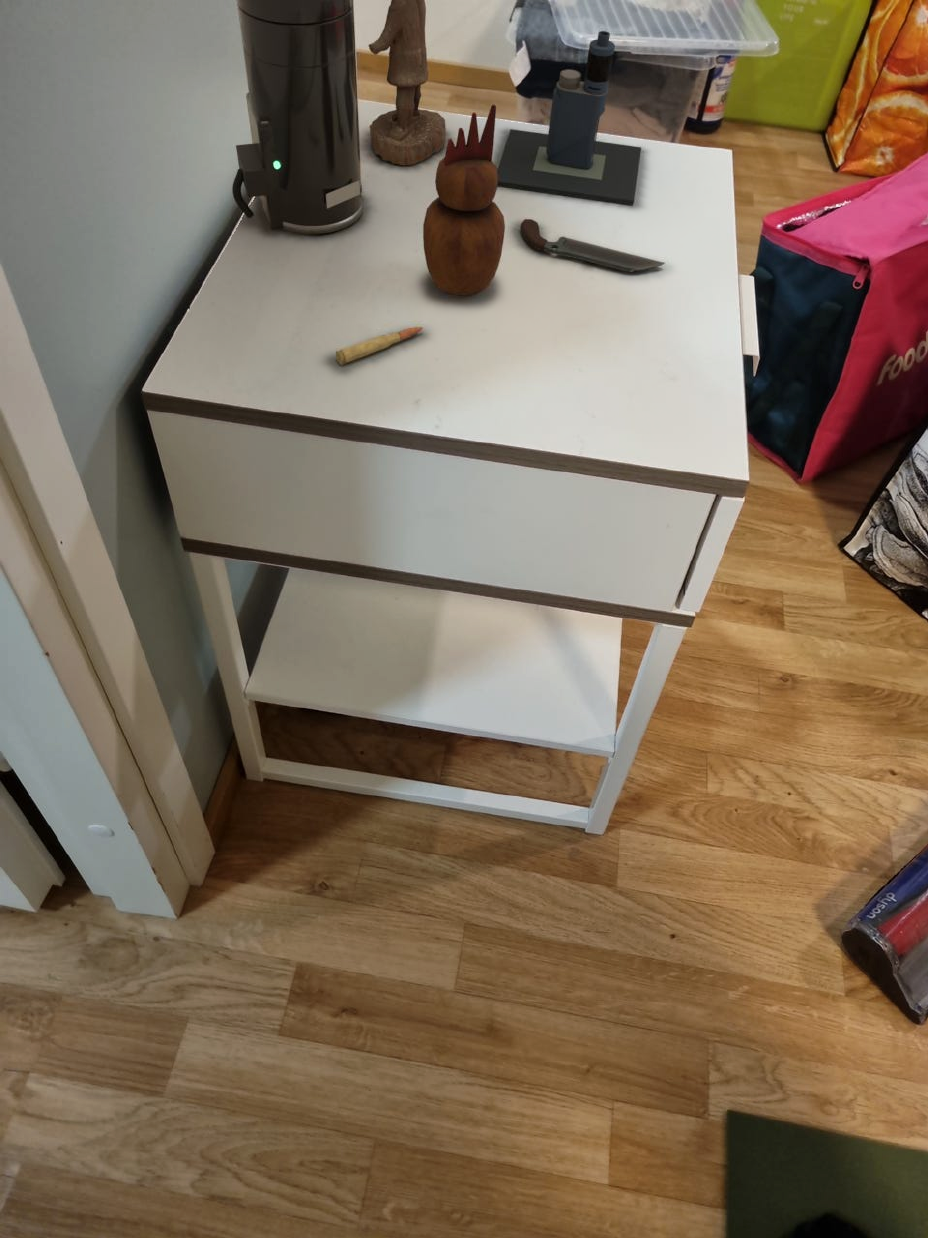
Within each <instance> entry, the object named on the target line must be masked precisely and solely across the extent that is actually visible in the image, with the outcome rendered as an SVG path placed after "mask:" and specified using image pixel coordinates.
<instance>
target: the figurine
mask: <svg viewBox="0 0 928 1238" xmlns="http://www.w3.org/2000/svg"><path fill="white" fill-rule="evenodd" d="M426 17H427V7H426V0H390V5H389V6H388V9H387V13H386V19H385V23H384V27H383V29H382V31H381V33H380V35H379V37H378V38H377V39H376V40H375V41H373V42H371V43H369V44H368V48H369V50H370V52H371V53H372V54H373V55H375V56H377V55H379V53H381V52H386V51H388V50H389V51H388V68H387V74H386V81H387V83H388V84H389V85H390V86H393V87H396V96H395V109H394V110H390V111H387V112H385V113H383V114H380V115H379V116H377V118H376V119H374V120H373V121H372V122H371V124H370V125H369V135H370V145H371V147H372V148H373V149H374V150H373V151H374V152H373V153H374V154H375V155H378V156H380V157H381V159H382V160H383V161H385V162H386V161H387V162H390V163H391V164H393V165H394V164H396V165H400V166H406V165H407V166H409V165H415V164H416V163H421V162H423V161H424V160H426V159H430V157H431V155H433V154H437V153H439V152H440V150H441V149H442V148H444V147H445V141H446V136H447V128H446V119H445V118H444V117H443V116H442V115H441V114H439V112H435V111H430V110H428V109H420V108H419V106H420V101H421V98H422V92H421V91H422V90H421V89H422V88H421V87H422V85H424V84H425V83H427V81H428V79H429V67H428V56H427V55H428V53H427V45H426V20H427V19H426Z"/></svg>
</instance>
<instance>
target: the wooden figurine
mask: <svg viewBox="0 0 928 1238" xmlns="http://www.w3.org/2000/svg"><path fill="white" fill-rule="evenodd" d="M496 114H497V106H496V104H492V105H491V106H490V109H489V112H488V115H487V118H486V121H485V124H484V127H483V130H482V134H481V137H479V127H478V119H477V118H478V116H477V113H476V112H472V113H471V117H470V122H469V129H468V133H467V139H466V136H465V130H464V128H463V127H459V128H458V134H457V138H456V144H455V143H454V141H453V139H452V138H449V139H448V140H447V144H446V148H445V153H444V157H443V158H442V159H440V160H439V162H438V165H437V168H436V172H435V180H434V182H435V183H434V184H435V191H436V193H437V196H438V197H437V198H435V199H434V200H433V201H432V202H431V203H430V204H429V205H428V206H427V208H426V211H425V216H424V221H423V224H422V229H423V230H422V241H423V252H424V257H425V263H426V268H427V271H428V272H429V276H430V278H431V280H432V283H433V284H434V286H436V287H437V288H439V289H440V290H441V291H443V292H446V293H449V294H451V295H456V296H472V295H477V294H479V293H481V292H483V291H486V290H487V288H489V286H490V285H491V283H492V282H493V279H494V278H495V275H496V273H497V271H498V268H499V264H500V261H501V258H502V252H503V248H504V247H503V245H504V240H505V232H506V231H505V229H506V222H505V216H504V214H503V213H502V211H501V210H500V207H498V205H497V203H496V202H494V199H495V196H496V193H497V189H498V186H497V184H498V173H497V169H498V168H497V166H496V165H495V163H494V162H493V153H494V144H495V143H494V141H495V131H496V130H495V129H496V128H495V127H496Z"/></svg>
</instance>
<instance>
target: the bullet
mask: <svg viewBox="0 0 928 1238" xmlns="http://www.w3.org/2000/svg"><path fill="white" fill-rule="evenodd" d="M423 329H424V326H423V327H422V326H415V327H410V328H406V329H403V330H400V331H397V332H393V333H391V334H383V335H380V336H376V337H374V338H371V339H368V340H365V341H361V342H359V343H356V344H354V345H351V346H348V347H345V348H341V349H340V350H336V351H335V358H336V361H337V362H338V364H339V365H341V366H342V365H344V364H347V363H350V362H353V361H354V360H358V359H361V358H363V357H366V356H369V355H371V354H374V353H376V352H379V351H382V350H384V349H387V348H389V347H390V346H391V345H393V344H396V343H399V342H401V341H403V340H407V339H408V338H409V339H410V338H411V337H413V336H415V335H416V334H418V333H419V332H421V331H422V330H423Z"/></svg>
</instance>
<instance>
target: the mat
mask: <svg viewBox="0 0 928 1238" xmlns="http://www.w3.org/2000/svg"><path fill="white" fill-rule="evenodd" d="M547 140H548V133H542V132H534V131H533V132H532V131H529V130H528V131H526V130H520V129H513V128H510V130H509V132H508V136H507V139H506V141H505V145H504V148H503V151H502V154H501V157H500V160H499V163H498V166H497V168H496V169H497V173H498V184H497V187H505V188H511V189H518V190H526V191H530V192H531V191H532V192H538V193H544V194H545V193H546V194H552V195H559V196H564V197H565V196H566V197H572V198H579V199H587V200H593V201H601V202H607V203H608V202H609V203H613V204H614V203H615V204H622V205H628V206H633V205H634V202H635V197H636V189H637V182H638V175H639V167H640V161H641V152H642V147H640V146H634V145H628V144H620V143H612V142H605V141H598V140H596V143H595V150H594V156H593V166H592V167H591V168H590V169H582V168H575V167H569V166H564V165H558V164H553V163H551V162H550V161H549V160H548V155H547V153H546V148H547Z"/></svg>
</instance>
